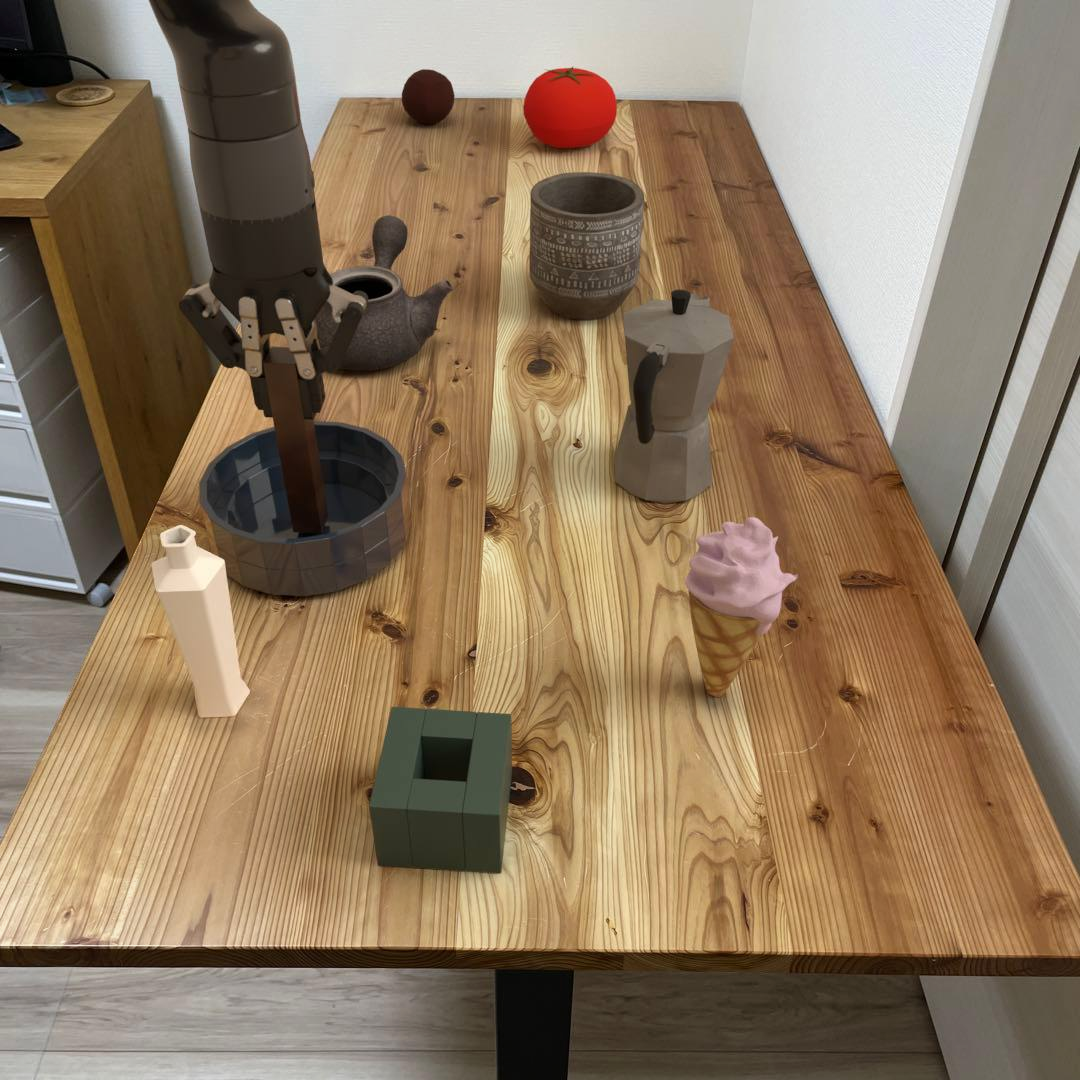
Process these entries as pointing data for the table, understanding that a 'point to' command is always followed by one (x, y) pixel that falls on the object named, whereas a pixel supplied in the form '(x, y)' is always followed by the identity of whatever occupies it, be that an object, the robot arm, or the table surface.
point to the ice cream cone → (733, 597)
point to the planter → (585, 242)
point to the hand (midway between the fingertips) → (292, 412)
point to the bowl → (265, 524)
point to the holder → (443, 790)
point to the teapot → (384, 306)
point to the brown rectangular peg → (295, 443)
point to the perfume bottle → (201, 621)
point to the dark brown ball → (428, 96)
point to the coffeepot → (671, 396)
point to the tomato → (570, 108)
